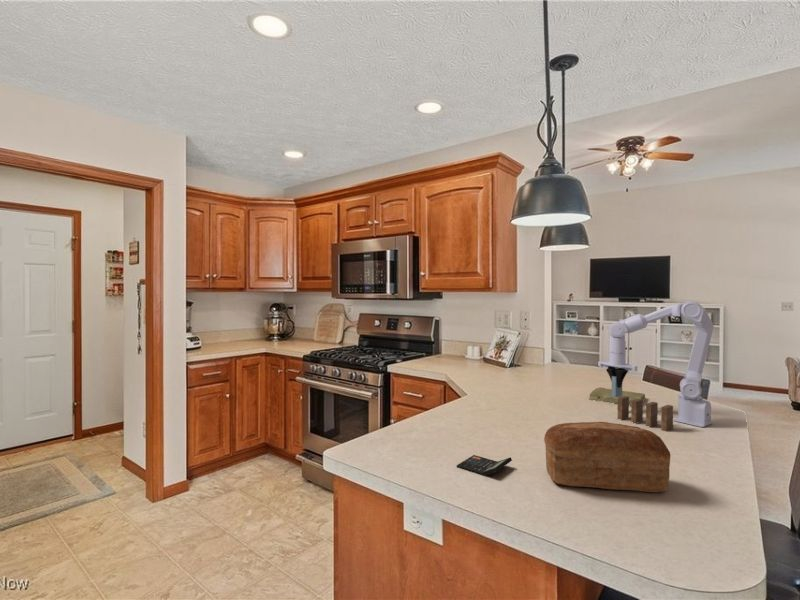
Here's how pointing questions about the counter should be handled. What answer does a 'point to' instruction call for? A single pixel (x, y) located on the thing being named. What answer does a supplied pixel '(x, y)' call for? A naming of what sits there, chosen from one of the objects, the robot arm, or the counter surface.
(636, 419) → the domino
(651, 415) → the domino
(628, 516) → the counter surface
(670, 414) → the domino
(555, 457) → the bread
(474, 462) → the calculator
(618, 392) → the domino
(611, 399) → the decorative tile
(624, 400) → the domino
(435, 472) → the counter surface
